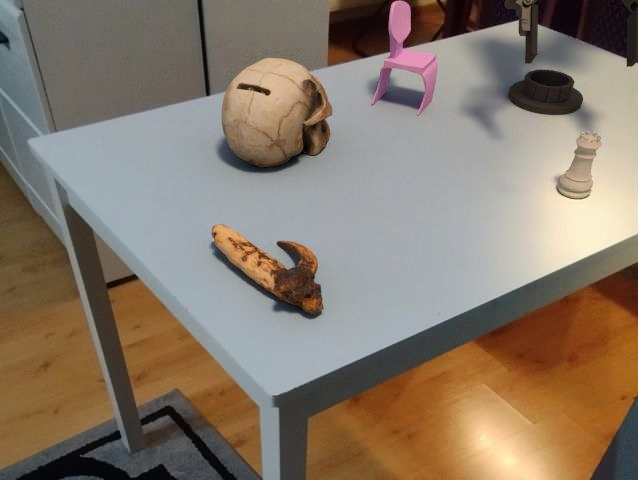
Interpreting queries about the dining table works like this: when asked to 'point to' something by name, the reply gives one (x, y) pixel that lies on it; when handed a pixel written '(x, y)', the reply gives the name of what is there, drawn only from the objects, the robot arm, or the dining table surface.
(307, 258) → the lashed bone hook
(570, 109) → the socket pad
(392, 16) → the toy chair
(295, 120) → the coin bank
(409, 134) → the dining table surface
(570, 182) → the rook chess piece
